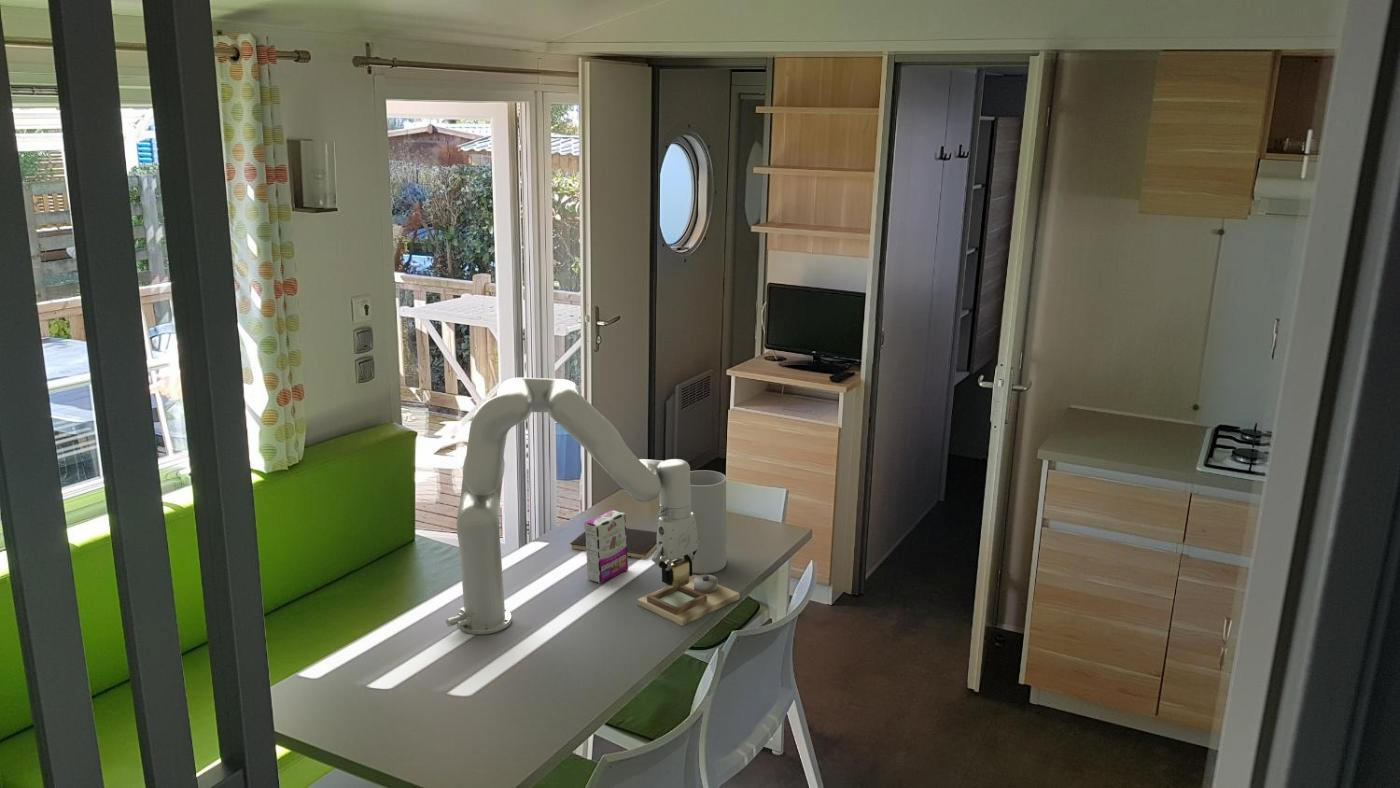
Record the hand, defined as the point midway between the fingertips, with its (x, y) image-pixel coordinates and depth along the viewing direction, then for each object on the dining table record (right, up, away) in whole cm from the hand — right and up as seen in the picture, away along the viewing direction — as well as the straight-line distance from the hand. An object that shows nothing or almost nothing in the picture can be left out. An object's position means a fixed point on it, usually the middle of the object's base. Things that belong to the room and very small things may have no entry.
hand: (677, 578), depth 253 cm
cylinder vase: (+7, -1, +26) cm, 27 cm away
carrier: (+3, -7, +5) cm, 9 cm away
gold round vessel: (0, -1, 0) cm, 1 cm away
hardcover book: (-17, +2, +41) cm, 45 cm away
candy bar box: (-19, -3, +21) cm, 28 cm away
